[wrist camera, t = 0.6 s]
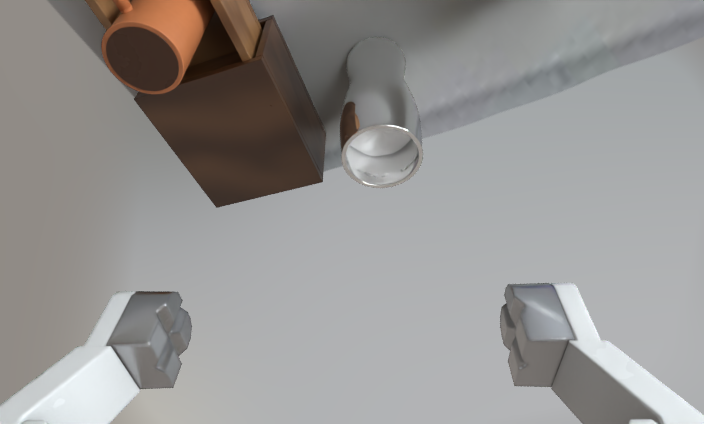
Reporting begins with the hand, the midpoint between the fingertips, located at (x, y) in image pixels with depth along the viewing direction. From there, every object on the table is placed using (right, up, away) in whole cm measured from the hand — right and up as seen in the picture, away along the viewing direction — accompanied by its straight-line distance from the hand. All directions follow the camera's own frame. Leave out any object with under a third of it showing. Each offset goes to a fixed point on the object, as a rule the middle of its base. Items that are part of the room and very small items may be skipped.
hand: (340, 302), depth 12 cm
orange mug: (-15, +22, +28) cm, 39 cm away
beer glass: (+3, +18, +36) cm, 40 cm away
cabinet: (-11, +15, +39) cm, 43 cm away
